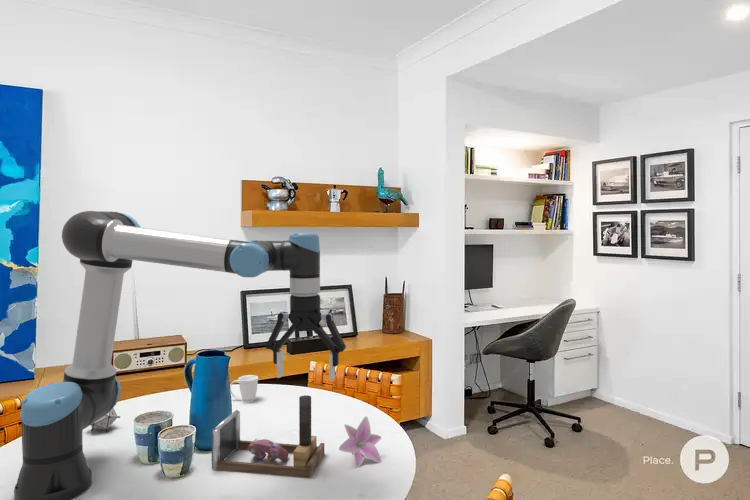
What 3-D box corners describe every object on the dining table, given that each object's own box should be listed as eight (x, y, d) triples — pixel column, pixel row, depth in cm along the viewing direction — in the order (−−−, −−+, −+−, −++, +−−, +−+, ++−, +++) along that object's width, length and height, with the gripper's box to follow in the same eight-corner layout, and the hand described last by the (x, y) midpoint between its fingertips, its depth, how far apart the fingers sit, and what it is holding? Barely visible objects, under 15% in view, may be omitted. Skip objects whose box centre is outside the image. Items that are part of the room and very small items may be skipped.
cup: (256, 404, 174) (255, 380, 173) (226, 404, 174) (226, 380, 174) (261, 397, 181) (260, 374, 180) (233, 397, 181) (232, 374, 181)
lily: (330, 471, 129) (343, 445, 125) (333, 435, 140) (344, 410, 136) (375, 482, 131) (388, 456, 127) (374, 446, 142) (386, 421, 138)
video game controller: (250, 463, 134) (243, 445, 131) (259, 449, 138) (252, 431, 134) (283, 470, 130) (276, 451, 127) (291, 455, 134) (284, 437, 131)
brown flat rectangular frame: (310, 477, 123) (310, 465, 123) (216, 469, 127) (216, 457, 127) (324, 454, 136) (324, 443, 136) (238, 447, 140) (238, 436, 140)
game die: (110, 439, 153) (131, 410, 156) (92, 441, 145) (115, 410, 148) (89, 422, 156) (111, 393, 158) (71, 422, 148) (94, 392, 150)
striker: (305, 472, 125) (305, 404, 124) (293, 471, 126) (293, 403, 125) (316, 454, 135) (316, 391, 134) (305, 453, 135) (305, 390, 135)
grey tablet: (218, 470, 127) (217, 428, 126) (210, 469, 127) (209, 428, 127) (241, 447, 140) (240, 409, 140) (234, 446, 141) (233, 408, 140)
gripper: (356, 293, 130) (357, 375, 131) (263, 291, 134) (264, 371, 135) (350, 297, 122) (351, 384, 123) (252, 295, 126) (253, 379, 127)
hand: (306, 377), depth 129 cm, fingers open, 13 cm apart
